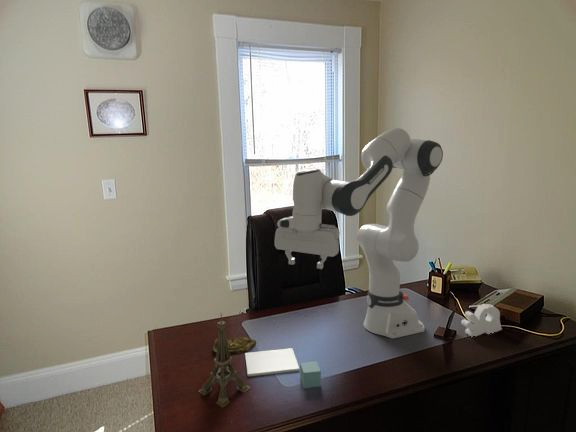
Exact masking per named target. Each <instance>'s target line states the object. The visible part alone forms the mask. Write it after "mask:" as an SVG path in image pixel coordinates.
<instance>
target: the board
mask: <svg viewBox="0 0 576 432" xmlns="http://www.w3.org/2000/svg"><path fill="white" fill-rule="evenodd" d="M293 349H294V348H292V347H291V348H290V347H288V348H281V349H271V350H261V351H250V352H244V356H245V363H246V364H245V365H246V373H247V374H246V375H247V377H257V376H262V375H263V376H267V375H274V374H283V373H284V374H285V373H291V372H300V365H299V363H298V359H297V356H296V355H295V352H294V350H293Z"/></svg>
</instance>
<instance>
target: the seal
mask: <svg viewBox="0 0 576 432" xmlns="http://www.w3.org/2000/svg"><path fill="white" fill-rule="evenodd" d="M227 344H228V350H229V355H235V354H241V353H247V351H249V350H251V349H253V348H254V347H255V345H256V344H257V341H256V340H255V339H252V338H248V337H243V336H240V337H232V338H227ZM217 345H218V338H216V339H215V341H214V345H213V347H212V351H213V352H215V353H217Z"/></svg>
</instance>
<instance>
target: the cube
mask: <svg viewBox="0 0 576 432" xmlns="http://www.w3.org/2000/svg"><path fill="white" fill-rule="evenodd" d="M299 364H300V365H299V369H300V371H299V378H300V381H301V384H302V387H303V389H310V388H317V387H318V388H319V387H321V386H322V383H321V381H322V379H321V378H322V375H321V374H322V371H321V368H320V366H319V363H318V361H316V360H315V361H307V362H300V363H299Z"/></svg>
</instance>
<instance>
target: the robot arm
mask: <svg viewBox="0 0 576 432" xmlns="http://www.w3.org/2000/svg"><path fill="white" fill-rule="evenodd" d="M443 157H444V152H443V149H442V146H441V144H440V143H438V142H437V141H434V140H429V139H427V140H425V139H420V138H411V137H410V135H409V133H408V132H407V131H406V130H404V129H403V128H400V127H393V128H391V129H388V130H386V131H384V132H383V133H380V134H379V135H378V136H376V137H375V138H374V139H372V140H371V141H369V142H368V143H367V144H366V145H365V146H364V147H363V149H362V150H361V154H360V160H361V164H362V166H363V168H364V169H365V171H364V172H363V174H361V175H360V177H358V178H357V179H353V180H339V179H333V178H332V177H329V176H327V175H326V174H325V173H324V172H322V171H321V169H319V168H316V167H315V168H313V167H312V168H305V169H301V170H298V171H297V172H296V173H295V176H294V178H293V179H294V180H293V186H292V187H293V188H292V201H293V209H292V214H291V215H289V216H287V217H283V218H281V219H279V220H278V221H277V223H276V225H277V227H278V228H276V230H275V234H274V247H275V248H276V250H283V251H284V254H285V255H286V257H287V259H288V265H295V264H296V258H295V257H293V256H292V252H294V253H295V252H297V253H303V254H309V255H310V254H311V255H318V256H320V259H321V260H320V261H318V262H317V263H316V269H317V270H319V269H320V270H323V268H324V263H325V261H326V260H327V258H328V257H331V258H332V257H335V256H337V255H338V254H339V253H340V252H339V251H340V242H339V239H340V235H341V234H340V230H339V228H338V227H337V226H335V224H324V223H322V214H323V213H322V212H323V211H322V210H323V209H324V210H328V211H332V212H334V213H335V212H336V213H339V214H341V215H344V216H348V217H353V216H355V215H358V214H359V213H360V212H361V211H362V210H363V209H364V207H365V206H366V204H367V202H368V200H369V199H370V198H371V196H372V195H373V194H374V193H375V192H376V191H377V189H378V188H379V187H380V186H381V185H382V184H383V183H384V182H385V181H386V179H388V178H389V176H390V174H391V173H392V171H393V169H394V168H395V169H399V170H402V171H403V172H402V176H401V177H400V178H399V180H398V181H397V183H396V185H395V188H394V190H393V192H392V193H391V195H390V197H389V199H388V202H387V204H386V207H385V208H386V213H387V214H388V215H389V223H388V225H382V224H379V223H366V224H364V225H362V226H361V227H360V228H359V230H358V231H357V235H356V240H357V244H358V245H359V246H360V247H361V250H362V251H363V253H364V256H365V259H366V262H367V266H368V273H369V274H368V275H369V277H368V279H369V282H368V290H367V297H366V301H367V310H366V315H365V318H364V321H363V328H364V329H365V330H367V331H369V332H370V333H373V334H375V335H379V336H383V337H384V336H385V337H387V338H390V339H397V338H401V337H407V336H410V335H414V334H419V333H424V332H425V330H426V329H425V325H424V323H423V322H422V321H421V320H420V319H419V315H418V312H417V311H416V310H415V309H414V308H413V307H412V305H409V303H407V302H408V301H409V299H410V297H409V295H407V294H406V293H404V292H402V291H401V290H400V289H401V288H400V286H401V285H400V284H401V273H400V270H399V268H398V267H397V266H396V265H395V263H394V261H395V262H404V263H405V262H410V261H412V260H413V259H415V257H416V256H417V255H418V252H419V248H420V245H419V241H418V239H417V237H416V234H415V221H416V218H417V215H418V213H419V210H420V208H421V205H423V202H424V199H425V197H426V196H427V192H428V188H429V185H430V183H431V175H432V174H433V173H434V172H435V171H436V170H437V169H438V168H439V167H440V165H441V163H442V161H443Z"/></svg>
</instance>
